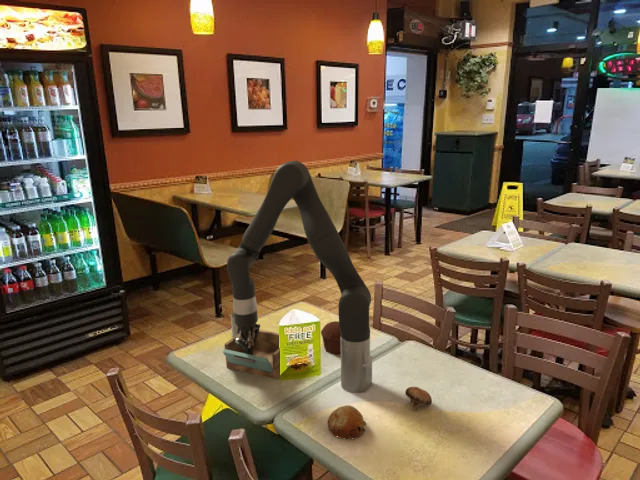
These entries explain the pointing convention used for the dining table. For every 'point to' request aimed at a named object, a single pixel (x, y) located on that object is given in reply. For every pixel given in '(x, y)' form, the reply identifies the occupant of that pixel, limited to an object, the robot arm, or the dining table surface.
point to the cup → (233, 326)
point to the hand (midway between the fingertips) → (249, 356)
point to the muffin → (332, 337)
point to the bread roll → (346, 422)
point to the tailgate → (248, 360)
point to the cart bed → (260, 353)
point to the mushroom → (418, 397)
